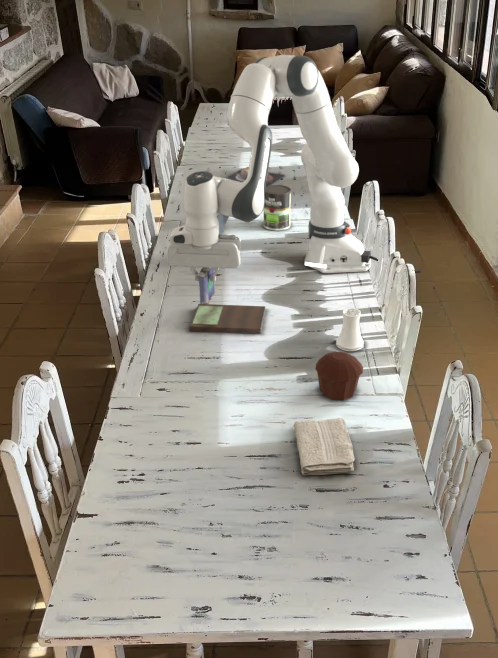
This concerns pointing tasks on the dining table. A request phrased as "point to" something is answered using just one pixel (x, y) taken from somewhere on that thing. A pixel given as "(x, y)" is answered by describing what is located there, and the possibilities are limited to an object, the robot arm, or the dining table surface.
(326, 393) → the muffin
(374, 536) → the dining table surface
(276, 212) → the coffee can
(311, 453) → the washcloth
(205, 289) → the flask
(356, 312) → the white salt shaker
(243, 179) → the quiche
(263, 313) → the board
